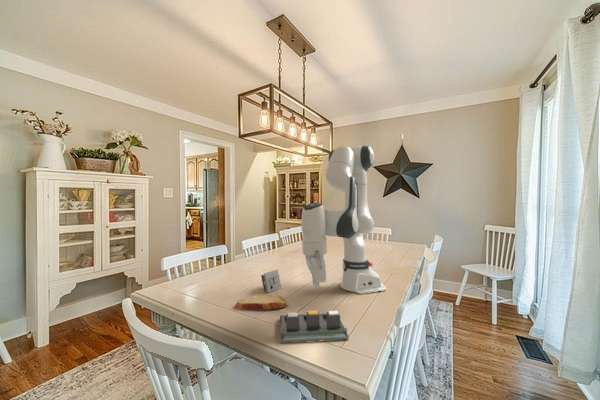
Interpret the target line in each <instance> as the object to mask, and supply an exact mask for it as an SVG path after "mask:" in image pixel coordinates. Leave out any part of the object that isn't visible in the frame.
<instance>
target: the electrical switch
mask: <svg viewBox="0 0 600 400" xmlns="http://www.w3.org/2000/svg"><path fill="white" fill-rule="evenodd" d="M260 276H261V282H262V288H263V292H266V293H267V294H268V293H269V294H270V293H271V292H274V291H277V290H279V289H281V288H282V285H281V284H282V283H281V279H280V273H279V270H278V269H274V270H271V271H268V272H265V273H263V274H261V275H260Z"/></svg>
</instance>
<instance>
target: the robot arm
mask: <svg viewBox="0 0 600 400" xmlns="http://www.w3.org/2000/svg"><path fill="white" fill-rule="evenodd" d="M375 157H376V156H375V153H374V149H373V148H372V147H371V146H369V145H361V146H360V145H358V146H357V145H356V146H355V145H354V146H353V145H352V146H346V145H345V146H344V145H342V146H337V148H335V149H333V150H331V152H330V153H329V154H328V164H327V167H326V171H325V180H326V181H327V183H328V185H330V186H331V187H333V188H334V189H336V190H339V191H342V192H344V209H342V210H327V209H326V208H325V207H324V205H323V204H322V203H319V202H317V203H315V202H314V203H308V204H305V205H304V206H303V207H302V210H301V231H302V240H301V243H302V246H301V247H302V254H303V255H304V256H305V262H306V266H307V268H308V270H309V272H310V274H311V277H312V284H313V286H314V288H319V287H320V283H326V281H327V268H326V267H327V266H326V261H325V260H326V259H324V257H325V255H326V254H327V252H328V249H327V248H328V247H327V237H337V238H342V239H343V259H342V270H343V271H342V279H341V282H340V287H341V289H343V290H345V291H349V292H353V293H356V294H358V295H363V294H372V292H373V293H379V292H378V291H381V292H386V291H387V287H386V285H385V284H384V283H382V281H381V277H380V274H378V273H377V272H376V271H374V270H373V269H372V267H373V266H374V263H373V262H371V261H369V260H367V244H366V242H365V240H364V237H363V236H364V235H369V234H370V233H372V232H373V230H374V229H375V221H374V219H373V217H372V215H371V212H370V208H369V204H368V203H369V202H368V173H367V171H368V170H369V169H370V168H371V167H373V165H374V163H375V162H374V161H375ZM326 236H327V237H326ZM385 290H386V291H385Z"/></svg>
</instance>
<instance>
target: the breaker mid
mask: <svg viewBox="0 0 600 400" xmlns="http://www.w3.org/2000/svg"><path fill="white" fill-rule="evenodd" d="M306 314H307V324H306V326H307V330H316V329H319V314H320V313H319V311H318V310H308V311H307V312H306Z"/></svg>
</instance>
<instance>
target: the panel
mask: <svg viewBox="0 0 600 400" xmlns="http://www.w3.org/2000/svg"><path fill="white" fill-rule="evenodd" d="M298 315H299V330H295V331H287V329H286V319H287V314H279V328H280V329H279V331H280V332H279V333H280V344H294V343H295V342H299V343H308V342H307V341H317V342H320V341H319V340H336V341H341V340H340V339H349V334H348V329H347V327H345V326H344V324H343V322H342V320H341V319H340V328H336V329H327V312H326V313H323V312H322V313H319V329H316V330H307V326H306V324H307V313H305V314H304V313H303V314H299V313H298ZM295 344H296V343H295Z"/></svg>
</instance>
